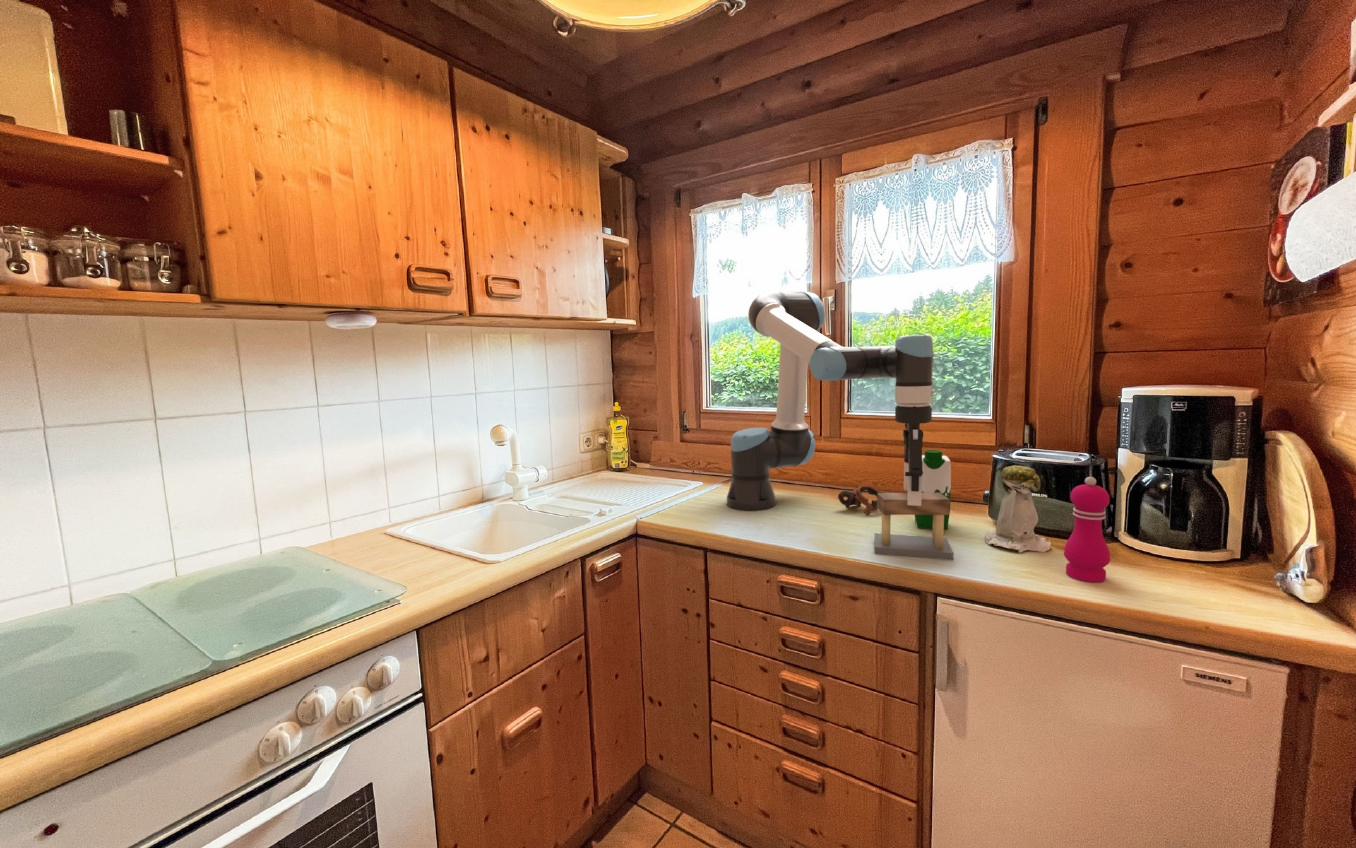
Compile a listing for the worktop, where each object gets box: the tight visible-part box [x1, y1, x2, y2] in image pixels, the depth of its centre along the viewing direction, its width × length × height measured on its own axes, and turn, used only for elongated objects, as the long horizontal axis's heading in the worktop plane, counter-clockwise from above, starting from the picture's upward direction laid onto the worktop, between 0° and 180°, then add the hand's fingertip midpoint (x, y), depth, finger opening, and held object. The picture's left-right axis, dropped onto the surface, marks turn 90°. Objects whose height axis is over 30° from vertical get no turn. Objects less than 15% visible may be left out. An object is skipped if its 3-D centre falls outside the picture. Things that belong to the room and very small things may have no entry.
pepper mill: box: [1063, 476, 1111, 583], centre depth 103 cm, size 7×7×20 cm
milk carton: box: [914, 449, 952, 531], centre depth 138 cm, size 9×9×20 cm
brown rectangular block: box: [876, 492, 951, 516], centre depth 121 cm, size 14×6×4 cm, turn 83°
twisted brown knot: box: [837, 485, 880, 516], centre depth 154 cm, size 12×10×8 cm
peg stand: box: [873, 512, 954, 561], centre depth 122 cm, size 16×10×9 cm, turn 70°
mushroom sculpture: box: [984, 464, 1051, 554], centre depth 122 cm, size 12×13×18 cm
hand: (912, 497), depth 121 cm, fingers open, 13 cm apart
